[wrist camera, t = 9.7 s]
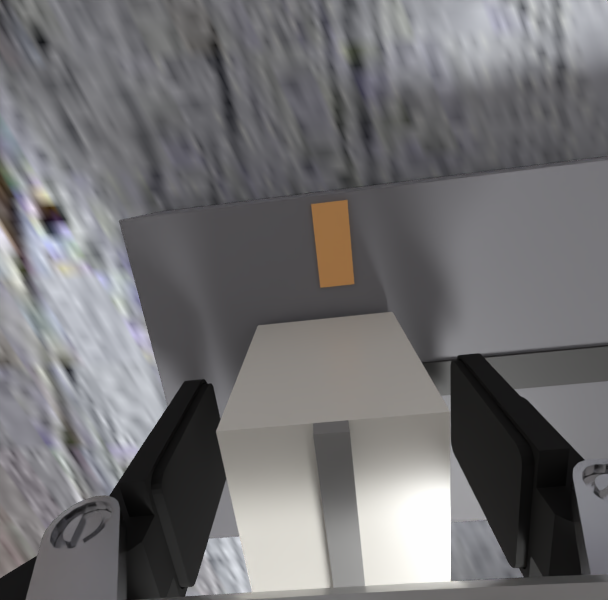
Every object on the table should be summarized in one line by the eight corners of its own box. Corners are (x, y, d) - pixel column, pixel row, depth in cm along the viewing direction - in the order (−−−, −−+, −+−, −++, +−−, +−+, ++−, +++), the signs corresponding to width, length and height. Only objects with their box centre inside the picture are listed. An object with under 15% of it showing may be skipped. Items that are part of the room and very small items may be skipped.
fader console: (885, 121, 12) (1068, 103, 9) (786, 436, 16) (895, 495, 13) (159, 211, 14) (117, 220, 11) (221, 479, 17) (202, 541, 14)
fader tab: (392, 311, 11) (457, 422, 6) (399, 452, 13) (456, 635, 8) (257, 325, 11) (211, 443, 6) (281, 461, 13) (258, 645, 8)
